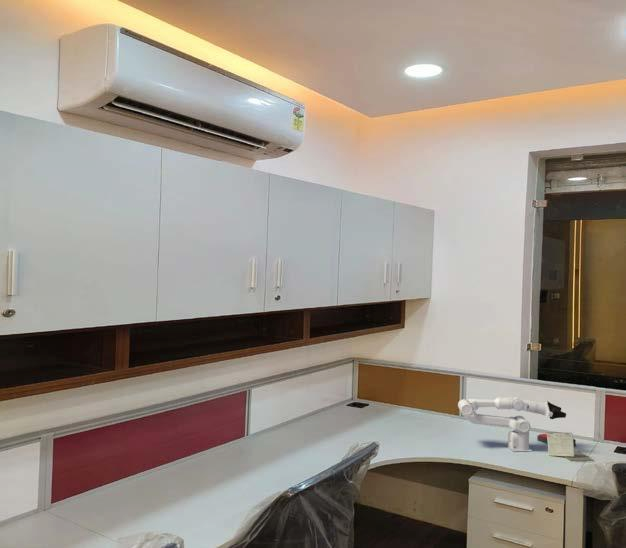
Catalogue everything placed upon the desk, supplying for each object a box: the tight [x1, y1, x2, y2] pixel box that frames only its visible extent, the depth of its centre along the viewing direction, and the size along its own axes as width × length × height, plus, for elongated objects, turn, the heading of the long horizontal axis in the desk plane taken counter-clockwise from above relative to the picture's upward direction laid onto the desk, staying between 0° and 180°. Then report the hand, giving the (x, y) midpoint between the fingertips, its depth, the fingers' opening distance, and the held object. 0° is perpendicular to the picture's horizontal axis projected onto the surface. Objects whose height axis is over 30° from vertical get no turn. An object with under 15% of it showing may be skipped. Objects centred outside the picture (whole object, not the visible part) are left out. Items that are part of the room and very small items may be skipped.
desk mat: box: [563, 450, 595, 462], centre depth 269 cm, size 11×14×1 cm
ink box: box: [546, 431, 575, 457], centre depth 269 cm, size 12×2×12 cm, turn 65°
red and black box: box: [537, 432, 577, 447], centre depth 290 cm, size 11×4×15 cm
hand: (563, 412), depth 278 cm, fingers open, 7 cm apart
